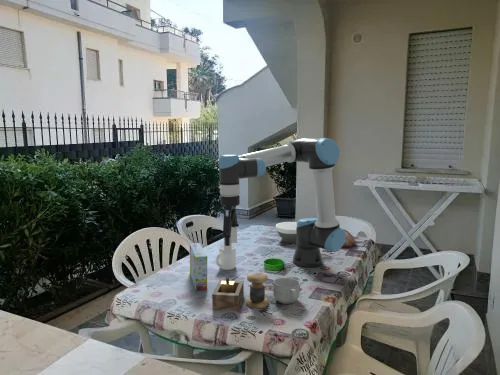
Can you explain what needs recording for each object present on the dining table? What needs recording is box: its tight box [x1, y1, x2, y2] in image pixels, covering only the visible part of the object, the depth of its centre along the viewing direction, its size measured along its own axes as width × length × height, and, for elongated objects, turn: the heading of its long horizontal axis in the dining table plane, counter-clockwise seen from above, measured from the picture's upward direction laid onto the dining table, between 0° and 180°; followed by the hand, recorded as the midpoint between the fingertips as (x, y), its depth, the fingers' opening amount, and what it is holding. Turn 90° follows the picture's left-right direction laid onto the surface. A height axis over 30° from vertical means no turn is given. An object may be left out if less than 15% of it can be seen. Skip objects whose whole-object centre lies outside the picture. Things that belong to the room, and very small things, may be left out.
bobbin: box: [245, 272, 270, 310], centre depth 143 cm, size 9×9×11 cm
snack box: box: [189, 242, 208, 291], centre depth 165 cm, size 21×6×15 cm, turn 17°
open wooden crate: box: [211, 279, 245, 312], centre depth 145 cm, size 10×14×6 cm
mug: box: [215, 244, 237, 271], centre depth 181 cm, size 12×8×10 cm
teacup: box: [272, 276, 302, 305], centre depth 144 cm, size 14×11×8 cm
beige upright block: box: [221, 277, 235, 293], centre depth 145 cm, size 5×3×9 cm, turn 82°
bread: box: [341, 228, 357, 248], centre depth 221 cm, size 16×20×10 cm
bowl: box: [275, 221, 297, 244], centre depth 228 cm, size 20×20×10 cm
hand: (231, 247), depth 144 cm, fingers open, 13 cm apart
